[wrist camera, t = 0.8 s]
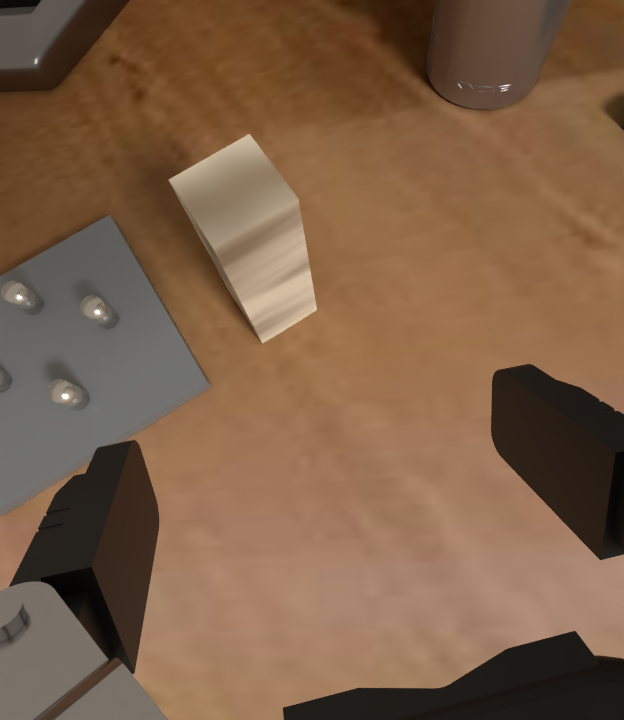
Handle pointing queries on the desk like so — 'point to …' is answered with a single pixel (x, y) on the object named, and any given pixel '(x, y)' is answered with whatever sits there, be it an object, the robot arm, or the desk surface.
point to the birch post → (251, 234)
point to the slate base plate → (82, 359)
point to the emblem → (48, 38)
